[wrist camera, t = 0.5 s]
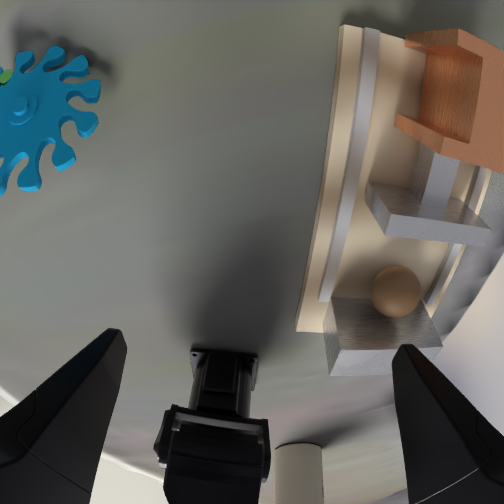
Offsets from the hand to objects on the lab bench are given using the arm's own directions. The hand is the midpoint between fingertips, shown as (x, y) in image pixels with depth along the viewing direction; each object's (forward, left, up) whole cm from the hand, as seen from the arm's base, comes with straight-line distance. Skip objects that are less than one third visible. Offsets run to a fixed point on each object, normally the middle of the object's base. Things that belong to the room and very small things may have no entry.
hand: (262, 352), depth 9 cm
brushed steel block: (-9, -9, -11) cm, 17 cm away
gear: (+7, +15, -13) cm, 20 cm away
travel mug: (-44, -9, -12) cm, 47 cm away
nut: (-5, -9, -11) cm, 15 cm away
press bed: (0, -9, -12) cm, 15 cm away
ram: (+6, -9, -11) cm, 15 cm away
